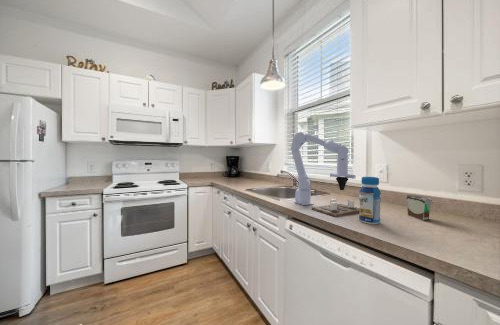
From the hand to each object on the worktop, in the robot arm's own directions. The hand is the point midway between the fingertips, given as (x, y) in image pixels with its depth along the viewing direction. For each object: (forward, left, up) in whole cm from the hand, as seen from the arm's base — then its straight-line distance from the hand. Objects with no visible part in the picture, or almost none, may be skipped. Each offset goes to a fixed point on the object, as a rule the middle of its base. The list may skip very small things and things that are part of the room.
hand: (342, 190), depth 120 cm
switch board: (+5, -9, -10) cm, 14 cm away
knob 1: (+2, -9, -8) cm, 12 cm away
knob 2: (+8, -16, -8) cm, 19 cm away
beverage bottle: (+25, -12, -10) cm, 30 cm away
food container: (+32, +16, -10) cm, 37 cm away
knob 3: (+8, -3, -8) cm, 12 cm away
